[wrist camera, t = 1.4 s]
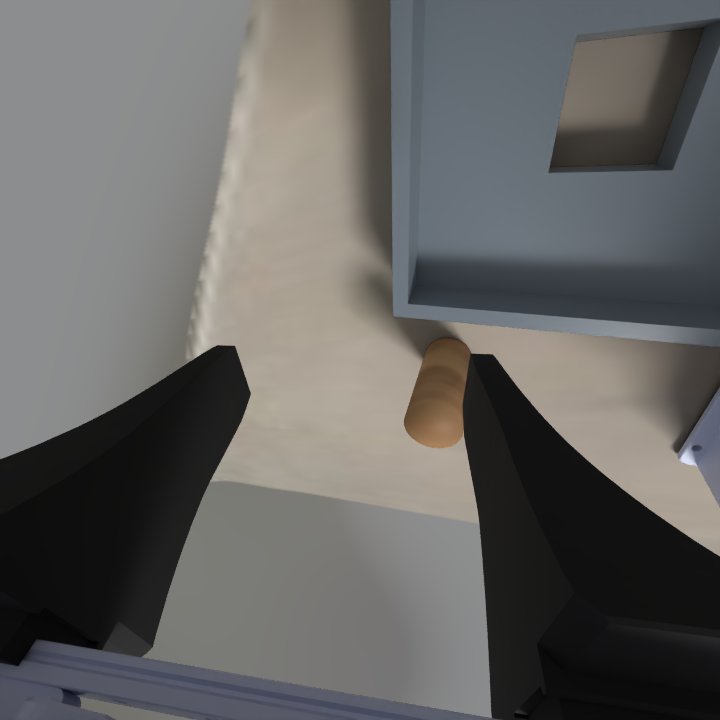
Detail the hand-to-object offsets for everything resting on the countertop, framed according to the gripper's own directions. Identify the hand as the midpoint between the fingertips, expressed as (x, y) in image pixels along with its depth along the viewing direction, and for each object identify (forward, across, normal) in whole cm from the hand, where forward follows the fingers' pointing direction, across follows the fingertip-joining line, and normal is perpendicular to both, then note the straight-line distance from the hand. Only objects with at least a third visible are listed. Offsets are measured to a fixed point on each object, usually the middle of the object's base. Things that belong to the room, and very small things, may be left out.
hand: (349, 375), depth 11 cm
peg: (+12, -4, +8) cm, 15 cm away
